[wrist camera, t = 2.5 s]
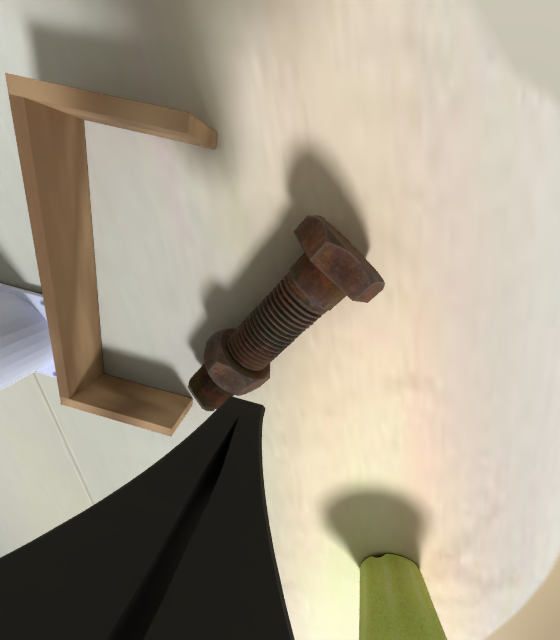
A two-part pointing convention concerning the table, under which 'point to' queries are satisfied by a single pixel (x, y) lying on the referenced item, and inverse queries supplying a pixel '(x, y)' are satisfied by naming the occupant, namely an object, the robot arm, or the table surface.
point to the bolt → (284, 313)
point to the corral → (84, 237)
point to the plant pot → (395, 602)
